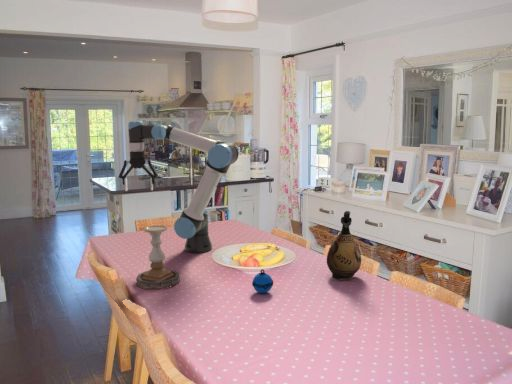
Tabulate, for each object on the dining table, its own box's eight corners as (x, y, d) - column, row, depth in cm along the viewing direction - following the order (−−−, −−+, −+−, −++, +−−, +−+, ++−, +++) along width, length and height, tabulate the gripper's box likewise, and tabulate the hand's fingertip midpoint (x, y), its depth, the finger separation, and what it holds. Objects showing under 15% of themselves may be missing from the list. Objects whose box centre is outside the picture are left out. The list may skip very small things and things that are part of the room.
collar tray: (182, 274, 220) (181, 268, 219) (177, 288, 201) (176, 282, 201) (141, 275, 219) (140, 269, 219) (132, 290, 200) (132, 283, 200)
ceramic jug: (361, 283, 204) (362, 216, 199) (325, 281, 207) (326, 215, 202) (360, 271, 220) (361, 208, 216) (327, 269, 223) (328, 207, 219)
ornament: (255, 297, 190) (255, 273, 189) (250, 290, 198) (249, 267, 197) (275, 295, 192) (275, 271, 191) (269, 288, 201) (269, 265, 199)
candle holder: (140, 282, 208) (137, 229, 204) (156, 274, 217) (153, 224, 213) (160, 285, 203) (157, 231, 199) (175, 277, 212) (173, 226, 209)
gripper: (161, 149, 251) (163, 188, 255) (114, 150, 250) (117, 189, 254) (159, 150, 244) (161, 191, 247) (111, 151, 243) (113, 192, 246)
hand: (139, 190), depth 250 cm, fingers open, 13 cm apart
